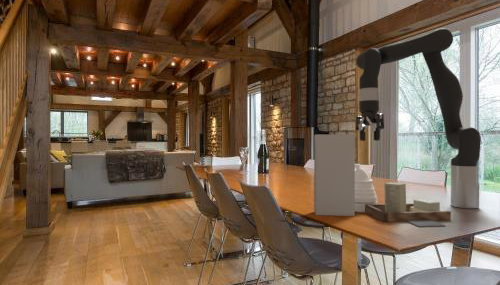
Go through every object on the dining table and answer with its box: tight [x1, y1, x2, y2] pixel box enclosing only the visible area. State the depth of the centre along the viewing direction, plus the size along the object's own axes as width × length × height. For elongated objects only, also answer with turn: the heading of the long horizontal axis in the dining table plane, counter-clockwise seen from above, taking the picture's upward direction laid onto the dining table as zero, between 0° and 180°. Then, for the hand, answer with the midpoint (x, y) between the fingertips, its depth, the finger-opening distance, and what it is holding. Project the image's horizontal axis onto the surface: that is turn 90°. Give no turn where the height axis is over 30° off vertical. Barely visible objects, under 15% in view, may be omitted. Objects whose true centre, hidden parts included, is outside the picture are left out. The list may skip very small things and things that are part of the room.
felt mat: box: [405, 220, 446, 228], centre depth 108 cm, size 9×7×1 cm
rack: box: [364, 202, 452, 223], centre depth 120 cm, size 24×15×3 cm, turn 95°
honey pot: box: [355, 163, 378, 213], centre depth 133 cm, size 13×13×18 cm
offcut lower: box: [410, 207, 425, 212], centre depth 121 cm, size 7×9×3 cm
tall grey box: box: [313, 134, 356, 217], centre depth 123 cm, size 14×6×30 cm, turn 84°
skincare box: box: [383, 181, 407, 212], centre depth 119 cm, size 6×4×12 cm
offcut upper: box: [412, 198, 441, 211], centre depth 121 cm, size 5×7×3 cm
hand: (369, 140), depth 131 cm, fingers open, 8 cm apart
